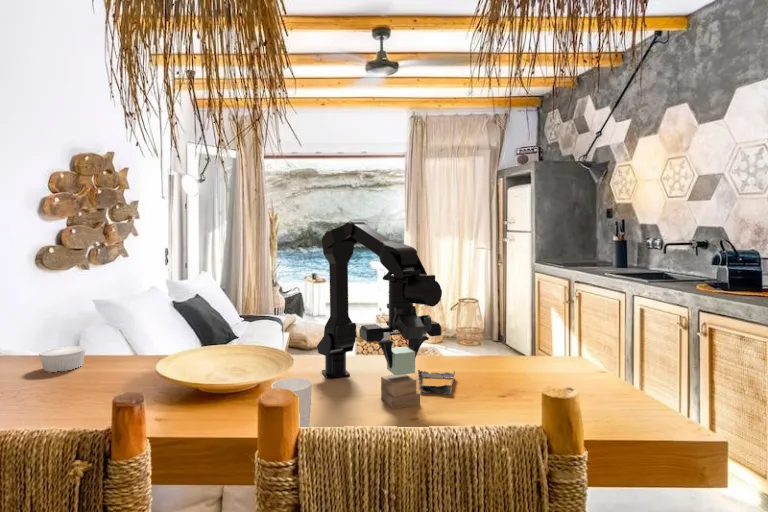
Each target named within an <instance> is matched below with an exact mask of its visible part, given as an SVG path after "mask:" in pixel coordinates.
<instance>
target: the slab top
mask: <svg viewBox="0 0 768 512" xmlns="http://www.w3.org/2000/svg"><path fill="white" fill-rule="evenodd" d="M380 388H381V389H382V390H383V391H385V392H387V393H388V394H390V395H392V396H394V397H397V396H401V395H406V394H410V393H415V392H416V391H417V379H416V378H414V377H412V376H410V375H409V374H402V375H394V374H393V373H392V374H389V375H383V376H380ZM381 389H380V390H381Z"/></svg>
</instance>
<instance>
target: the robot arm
mask: <svg viewBox="0 0 768 512" xmlns="http://www.w3.org/2000/svg"><path fill="white" fill-rule="evenodd" d="M358 243H359V244H360V245H362V246H363V247H364V248H366V249H367V250H369V251H371V252H372V253H374V254H375V255H376V256H377V257H379V262H380V264H381V265H382V266H383V267H384V269H386V270H387V272H386V274H384V275H383V276H382V279H383V281H388V303H386V308H387V310H388V320H386V326H388V327H382V326H380V325H378V324H375V323H374V324H373V323H372V324H362V325H361V326H360V327H359V338H361V339H362V340H363V341H365V342H367V343H375V342H376V343H377V344H378V345H379V346H380V348H381V350H382V352H383V356H384V358H385V361H386V364H387V363H388V366H389V368H392V348H393V344H394V341H393V340H391V336H397V335H400V336H401V337H402V338H403V339H404V340H407V342H408V344H407V345H408V346H407V347H408V348H410V349H411V350H413V351H415V359H416V358H417V355H418V352H419V350H420V348H421V346H422V345H423V343H424V342H425V341H428V340H429V339H430V337H440V336H442V334H443V333H442V329H443V328H442V325H441V324H440V323H439V322H437V321H435V320H432V316H431V315H429V314H422V315H417V307H416V306H415V305H414V304H416V305H421V306H427V307H435V306H437V305H438V304H439V303H440V301H441V299H442V296H443V290H442V288H441V285H440V283H439V282H438V281H436V275H435V274H427V271H426V269H425V267H424V265H423V263H422V261H421V259H420V258H419V255H418V251H417V250H416V248H414V247H413V246H410V245H408V244H404V243H401V242H400V243H399V242H396V241H393V240H390V239H389V238H387V237H386V236H384V235H382V234H381V233H379V232H378V231H376V230H375V229H374V228H372V227H370V226H369V225H367V223H365V222H364V221H363V220H359V221H358V220H357V221H356V220H354V221H353V220H352V221H351V220H350V221H347V222H345V223H344V224H343V225H341V226H337V227H336V228H332V229H331V230H327V231H326V232H325V233H324V235H323V236H322V238H321V245H322V253H323V254H322V255H324V257H325V259H326V260H327V263H328V265H329V268H328V270H329V318H328V320H327V322H326V324H325V325H324V330H323V336H322V338H321V340H320V341H319V342H318V343H317V345H316V349H317V352H318V354H320V355H322V356H324V360H325V361H324V364H325V366H324V367H325V369H322V370H321V373H322V374H323V376H324V377H325V378H326V379H334V378H335V379H336V378H344V377H349V376H351V373H350V372H349V371H347V353H349V352H353V350H354V346H355V344H356V338H358V335H357V324H356V322H353V321H352V319H351V318H350V316H349V262H350V260H351V258H352V257H353V255H354V249H355V246H356V245H357V244H358ZM427 335H428V336H429V337H428V336H427Z"/></svg>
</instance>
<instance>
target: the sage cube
mask: <svg viewBox="0 0 768 512" xmlns="http://www.w3.org/2000/svg"><path fill="white" fill-rule="evenodd" d="M386 369H387V370H388V371H389V372H390V373H392V375H393V374H394V375H402V374H406V375H410V374H416V358H415V351H413V350H411V349H410V348H408V346H400V347H399V346H398V347H392V368H389V366H388V363H387V362H386Z"/></svg>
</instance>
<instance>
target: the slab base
mask: <svg viewBox="0 0 768 512" xmlns="http://www.w3.org/2000/svg"><path fill="white" fill-rule="evenodd" d="M380 399H381V400H382V401H383V402H384V403H385V404H386V405H387V406H389V408H391V410H392V409H400V408H401V409H402V408H407V407H414V406H421V393H420V392H419V391H418V390H416V392H415V393H410V394H406V395H401V396H397V397H394V396H392V395H390V394H388V393H387V392H385V391H383V390H382V389H380Z"/></svg>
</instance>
